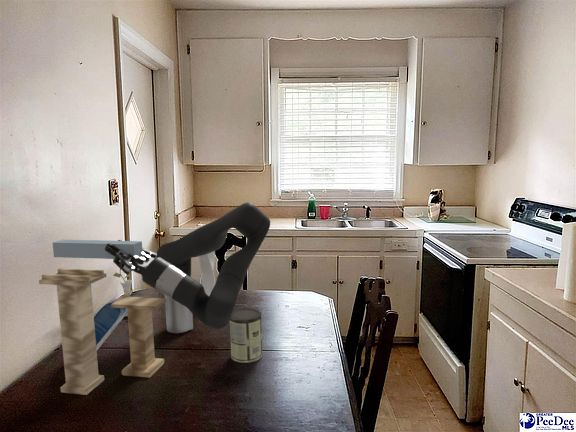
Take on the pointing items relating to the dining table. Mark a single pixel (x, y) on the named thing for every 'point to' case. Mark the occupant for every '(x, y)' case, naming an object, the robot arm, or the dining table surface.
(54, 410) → the dining table surface
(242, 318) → the coffee can
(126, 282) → the flower in vase
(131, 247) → the bar
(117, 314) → the blue food package
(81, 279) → the tall stand
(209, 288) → the skyscraper
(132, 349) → the short wooden pedestal
